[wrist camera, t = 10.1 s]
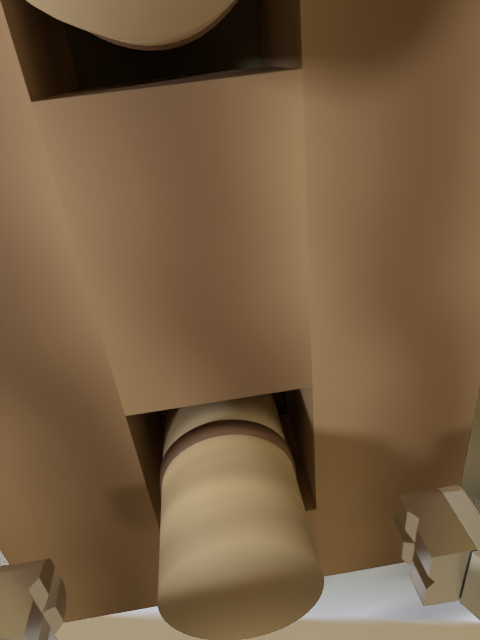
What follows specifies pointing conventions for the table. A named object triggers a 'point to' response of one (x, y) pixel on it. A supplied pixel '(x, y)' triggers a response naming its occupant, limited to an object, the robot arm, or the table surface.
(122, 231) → the board
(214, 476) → the leg
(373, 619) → the table surface
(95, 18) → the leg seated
